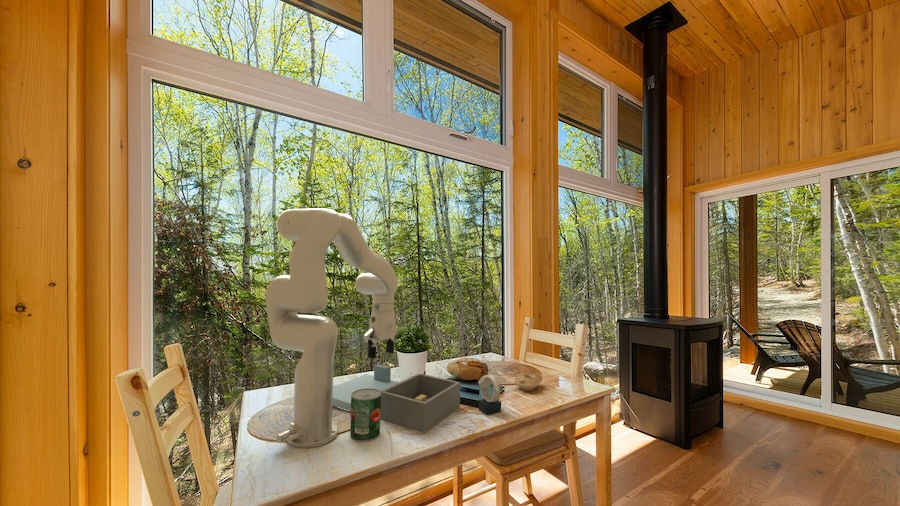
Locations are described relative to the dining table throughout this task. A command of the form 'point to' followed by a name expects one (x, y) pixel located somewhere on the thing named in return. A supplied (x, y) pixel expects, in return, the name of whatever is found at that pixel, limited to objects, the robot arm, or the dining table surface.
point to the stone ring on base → (489, 403)
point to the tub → (420, 402)
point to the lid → (362, 386)
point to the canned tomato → (365, 415)
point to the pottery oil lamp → (528, 381)
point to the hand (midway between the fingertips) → (381, 355)
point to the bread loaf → (468, 368)
